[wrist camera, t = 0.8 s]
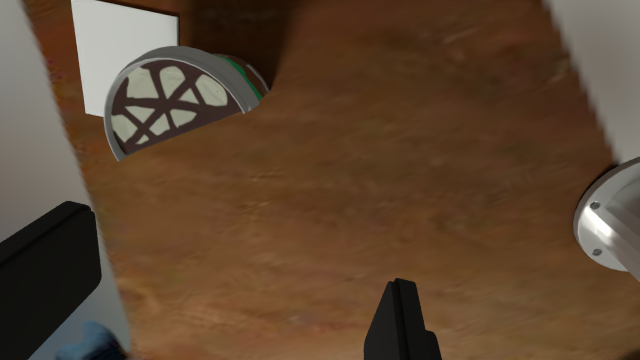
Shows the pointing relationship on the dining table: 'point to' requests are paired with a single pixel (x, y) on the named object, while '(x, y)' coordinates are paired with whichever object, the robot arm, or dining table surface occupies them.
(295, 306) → the dining table surface
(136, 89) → the food container
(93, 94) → the mat
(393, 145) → the dining table surface
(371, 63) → the dining table surface
